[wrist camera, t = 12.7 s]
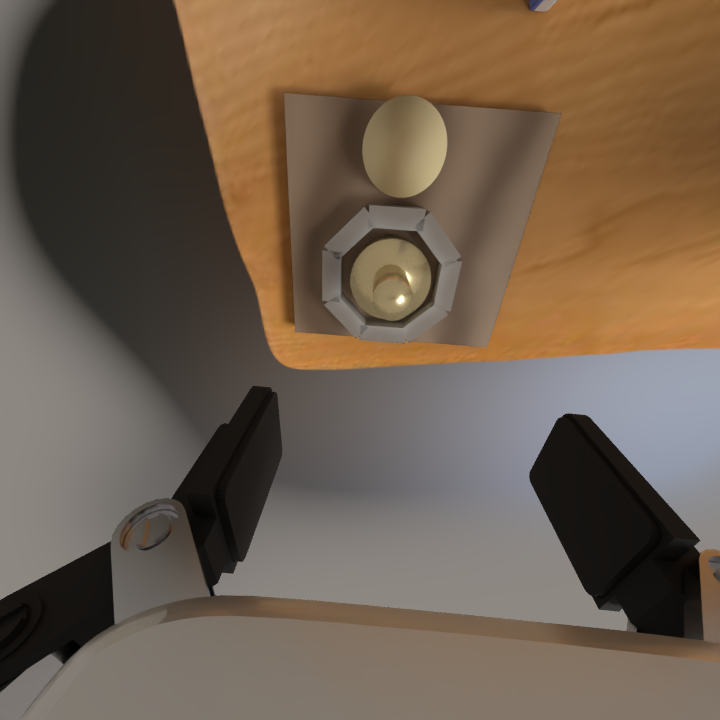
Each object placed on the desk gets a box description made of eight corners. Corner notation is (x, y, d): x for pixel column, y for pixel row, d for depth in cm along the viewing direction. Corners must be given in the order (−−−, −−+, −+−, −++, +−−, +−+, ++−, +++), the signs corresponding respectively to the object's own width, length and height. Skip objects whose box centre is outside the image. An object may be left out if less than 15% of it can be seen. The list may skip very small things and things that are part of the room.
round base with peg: (433, 237, 26) (450, 254, 20) (421, 313, 30) (433, 346, 24) (352, 233, 26) (346, 248, 20) (350, 309, 30) (344, 341, 24)
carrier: (551, 117, 23) (577, 107, 20) (483, 340, 32) (493, 357, 29) (289, 98, 23) (275, 85, 20) (298, 325, 33) (290, 340, 30)
